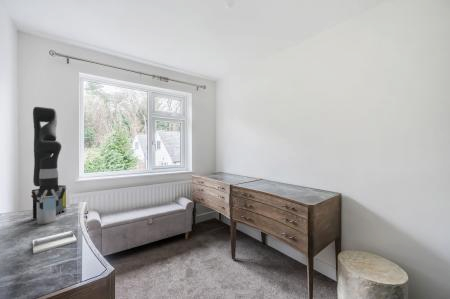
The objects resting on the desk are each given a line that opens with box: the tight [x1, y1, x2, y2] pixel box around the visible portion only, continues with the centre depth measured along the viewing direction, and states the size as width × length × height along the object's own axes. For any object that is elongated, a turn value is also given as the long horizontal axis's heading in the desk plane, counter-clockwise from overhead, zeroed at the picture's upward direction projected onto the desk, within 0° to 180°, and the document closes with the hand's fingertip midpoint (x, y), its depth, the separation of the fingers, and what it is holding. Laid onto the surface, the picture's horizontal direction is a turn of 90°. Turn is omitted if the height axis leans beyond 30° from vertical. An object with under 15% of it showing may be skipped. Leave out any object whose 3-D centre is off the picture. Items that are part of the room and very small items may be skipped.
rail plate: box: [32, 230, 78, 254], centre depth 100 cm, size 16×16×2 cm
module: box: [43, 196, 56, 212], centre depth 105 cm, size 7×5×7 cm
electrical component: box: [30, 184, 67, 219], centre depth 141 cm, size 18×10×20 cm, turn 168°
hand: (49, 207), depth 105 cm, fingers closed on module, 5 cm apart
